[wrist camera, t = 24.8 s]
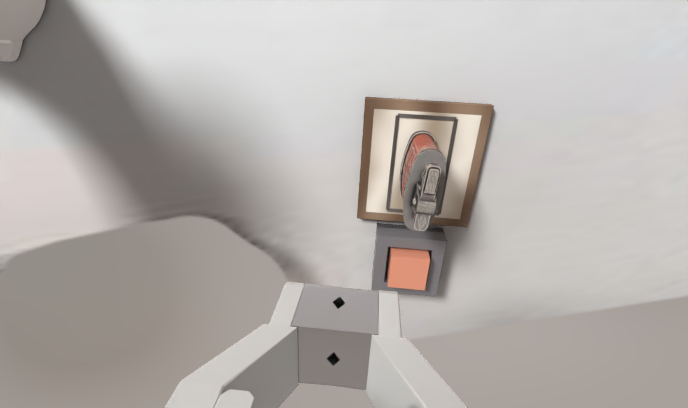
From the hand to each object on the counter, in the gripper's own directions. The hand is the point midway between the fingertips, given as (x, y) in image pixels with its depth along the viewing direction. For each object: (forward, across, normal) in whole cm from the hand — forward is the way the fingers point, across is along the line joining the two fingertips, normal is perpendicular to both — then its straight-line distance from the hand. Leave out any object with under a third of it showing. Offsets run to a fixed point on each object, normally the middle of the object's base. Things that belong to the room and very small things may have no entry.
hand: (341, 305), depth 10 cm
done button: (+30, -6, +18) cm, 35 cm away
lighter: (+30, -6, +6) cm, 31 cm away
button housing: (+31, -6, +18) cm, 36 cm away
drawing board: (+31, -6, +6) cm, 32 cm away
